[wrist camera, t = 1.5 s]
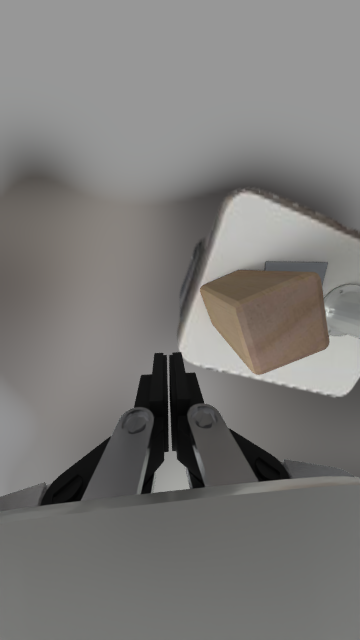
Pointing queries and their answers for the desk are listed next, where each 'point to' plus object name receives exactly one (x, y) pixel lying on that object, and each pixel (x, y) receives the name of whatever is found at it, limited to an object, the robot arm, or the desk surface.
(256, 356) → the wooden block
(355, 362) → the desk surface
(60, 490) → the robot arm
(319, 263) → the mat
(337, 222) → the desk surface
